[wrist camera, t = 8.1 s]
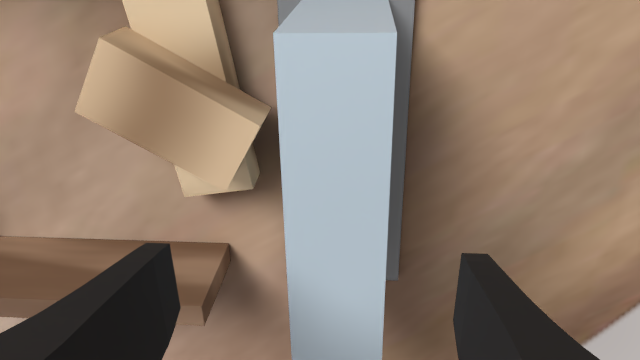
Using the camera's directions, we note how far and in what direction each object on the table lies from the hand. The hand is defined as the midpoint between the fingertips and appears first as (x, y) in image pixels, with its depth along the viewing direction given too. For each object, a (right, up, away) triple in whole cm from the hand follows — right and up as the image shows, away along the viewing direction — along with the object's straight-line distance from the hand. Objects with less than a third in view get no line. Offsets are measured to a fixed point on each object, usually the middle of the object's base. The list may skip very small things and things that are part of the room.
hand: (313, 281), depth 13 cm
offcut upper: (-5, +6, +7) cm, 10 cm away
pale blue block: (+1, +4, +8) cm, 10 cm away
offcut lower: (-5, +6, +9) cm, 12 cm away
